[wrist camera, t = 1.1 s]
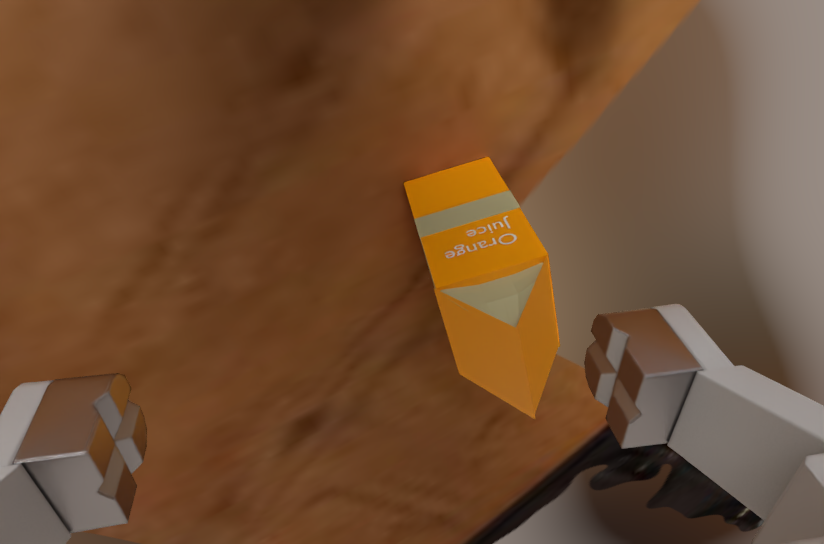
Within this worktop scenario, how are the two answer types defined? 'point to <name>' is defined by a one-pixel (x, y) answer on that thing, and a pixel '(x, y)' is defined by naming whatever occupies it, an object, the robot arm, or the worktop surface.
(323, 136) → the worktop surface
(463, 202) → the orange juice
